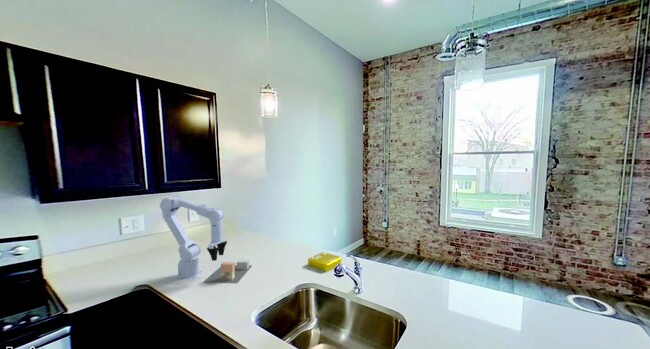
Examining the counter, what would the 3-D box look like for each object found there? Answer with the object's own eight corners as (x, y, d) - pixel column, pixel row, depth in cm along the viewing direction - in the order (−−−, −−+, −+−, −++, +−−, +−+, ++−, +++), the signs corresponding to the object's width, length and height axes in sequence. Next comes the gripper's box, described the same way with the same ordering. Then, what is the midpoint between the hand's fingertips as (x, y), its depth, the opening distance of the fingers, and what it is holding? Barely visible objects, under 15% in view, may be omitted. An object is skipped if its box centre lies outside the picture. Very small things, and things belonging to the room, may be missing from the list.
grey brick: (236, 269, 145) (236, 262, 144) (239, 267, 148) (238, 260, 147) (247, 269, 144) (247, 262, 144) (249, 267, 147) (249, 260, 147)
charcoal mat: (202, 283, 129) (202, 282, 129) (222, 265, 151) (222, 265, 151) (237, 284, 128) (237, 283, 128) (252, 266, 150) (252, 265, 150)
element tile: (326, 272, 140) (326, 264, 140) (306, 266, 150) (306, 258, 149) (342, 264, 152) (342, 256, 152) (322, 258, 161) (322, 251, 161)
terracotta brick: (220, 272, 132) (220, 264, 131) (223, 269, 135) (223, 262, 134) (232, 272, 131) (232, 264, 131) (234, 269, 134) (234, 262, 134)
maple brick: (220, 279, 132) (220, 272, 132) (223, 277, 135) (223, 269, 135) (232, 279, 131) (232, 272, 131) (234, 277, 134) (234, 269, 134)
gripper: (217, 236, 129) (218, 263, 130) (230, 228, 143) (231, 252, 144) (204, 236, 129) (205, 262, 130) (217, 228, 144) (218, 252, 144)
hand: (217, 257), depth 137 cm, fingers open, 7 cm apart
